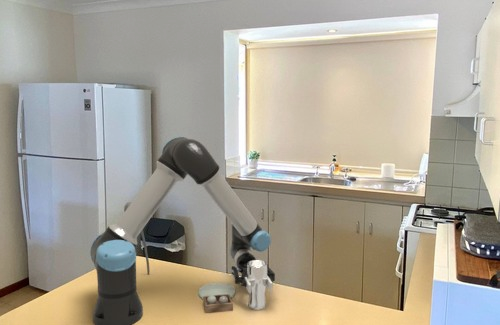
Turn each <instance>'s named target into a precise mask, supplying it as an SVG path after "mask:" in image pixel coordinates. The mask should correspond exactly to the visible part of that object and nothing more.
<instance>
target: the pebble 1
mask: <svg viewBox="0 0 500 325" xmlns="http://www.w3.org/2000/svg"><path fill="white" fill-rule="evenodd" d="M216 301H217V300H216V297H215V296H213V295H211V296H209V297H208V298H207V303H208V304H209V305H211V304H215V303H216Z"/></svg>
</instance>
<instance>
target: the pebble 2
mask: <svg viewBox="0 0 500 325" xmlns="http://www.w3.org/2000/svg"><path fill="white" fill-rule="evenodd" d="M221 303H228V298H227V297H226V296H221V297H220V298H219V304H221Z"/></svg>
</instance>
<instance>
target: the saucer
mask: <svg viewBox="0 0 500 325" xmlns="http://www.w3.org/2000/svg"><path fill="white" fill-rule="evenodd" d="M235 292H236V288H235V287H234V286H233V285H231V284H229V283H225V282H211V283H206V284H204V285H202V286H200V287H199V289H198V297H199V298H201V299H202V300H203V296H211V295H223V294H230V297H231V299H232V298H233V297H234V296H235Z"/></svg>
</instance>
